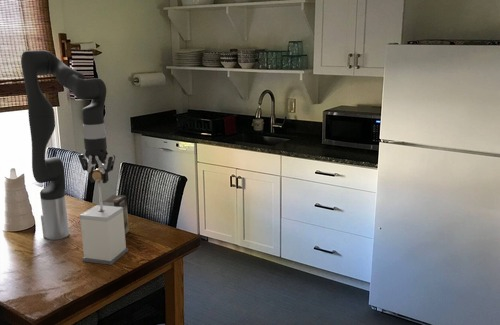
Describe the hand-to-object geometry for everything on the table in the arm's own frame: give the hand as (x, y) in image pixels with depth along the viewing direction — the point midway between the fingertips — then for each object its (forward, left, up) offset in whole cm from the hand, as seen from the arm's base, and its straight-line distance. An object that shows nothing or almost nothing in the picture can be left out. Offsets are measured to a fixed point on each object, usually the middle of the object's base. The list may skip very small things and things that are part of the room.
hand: (99, 182), depth 170 cm
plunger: (0, 0, -15) cm, 15 cm away
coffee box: (-6, +19, -29) cm, 35 cm away
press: (0, +1, -29) cm, 29 cm away
